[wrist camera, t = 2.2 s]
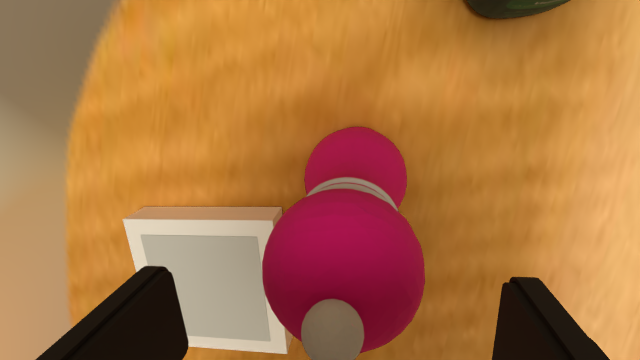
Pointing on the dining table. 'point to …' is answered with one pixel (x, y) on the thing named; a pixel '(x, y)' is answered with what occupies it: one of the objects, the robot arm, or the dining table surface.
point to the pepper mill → (346, 250)
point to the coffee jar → (513, 7)
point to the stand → (214, 271)
